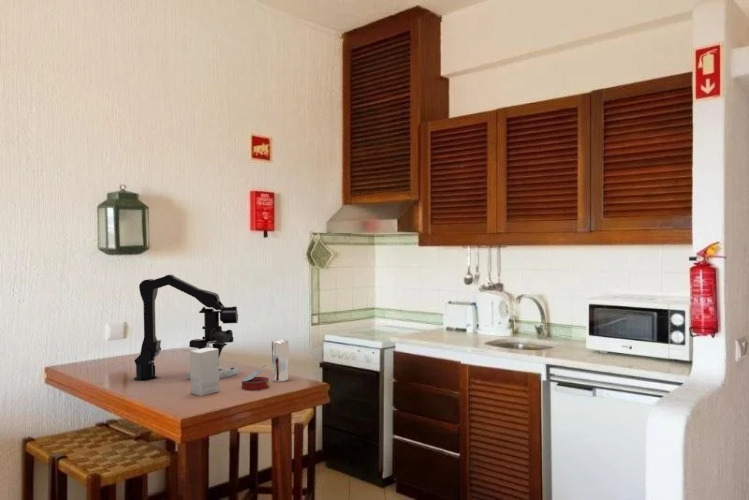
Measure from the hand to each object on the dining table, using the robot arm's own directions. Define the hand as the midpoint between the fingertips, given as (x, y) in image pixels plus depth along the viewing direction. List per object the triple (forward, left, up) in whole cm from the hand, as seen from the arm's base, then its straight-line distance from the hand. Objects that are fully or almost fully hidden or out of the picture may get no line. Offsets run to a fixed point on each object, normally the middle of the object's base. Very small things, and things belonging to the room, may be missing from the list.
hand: (212, 362), depth 241 cm
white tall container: (+8, -29, -6) cm, 31 cm away
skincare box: (-21, -19, -6) cm, 29 cm away
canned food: (-6, -29, -6) cm, 30 cm away
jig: (0, 0, -6) cm, 6 cm away
